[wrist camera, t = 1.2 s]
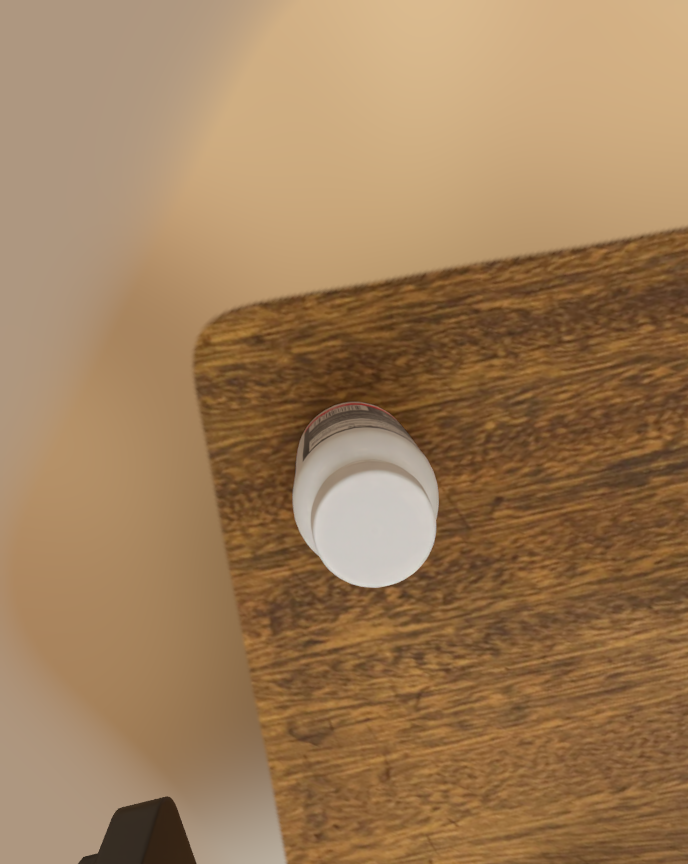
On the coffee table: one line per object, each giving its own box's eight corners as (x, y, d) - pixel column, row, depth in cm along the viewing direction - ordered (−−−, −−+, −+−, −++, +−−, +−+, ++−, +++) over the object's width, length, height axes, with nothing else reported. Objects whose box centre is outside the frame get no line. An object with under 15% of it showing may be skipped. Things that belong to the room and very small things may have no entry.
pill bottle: (391, 522, 30) (428, 626, 20) (283, 494, 29) (269, 587, 20) (425, 416, 29) (480, 473, 19) (314, 385, 28) (314, 428, 19)
